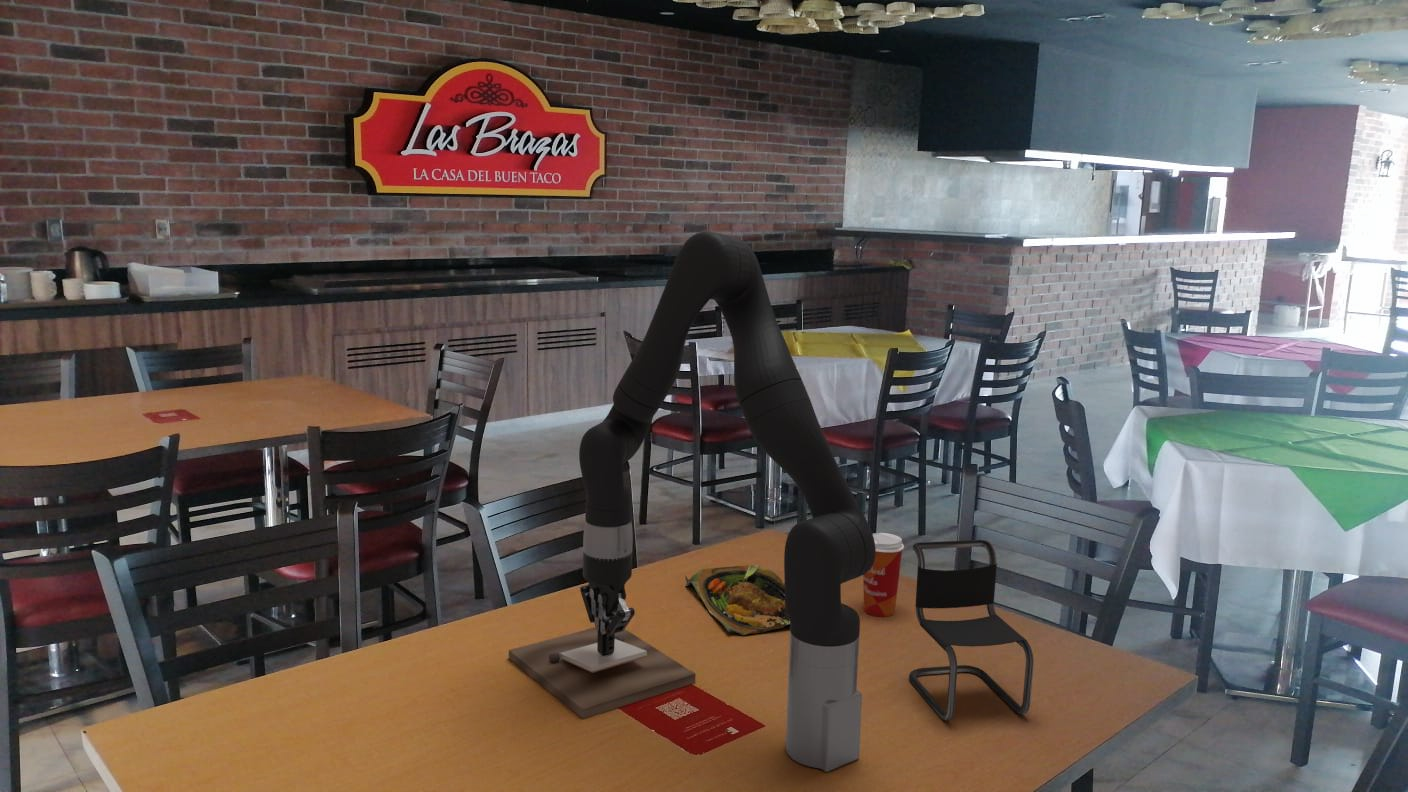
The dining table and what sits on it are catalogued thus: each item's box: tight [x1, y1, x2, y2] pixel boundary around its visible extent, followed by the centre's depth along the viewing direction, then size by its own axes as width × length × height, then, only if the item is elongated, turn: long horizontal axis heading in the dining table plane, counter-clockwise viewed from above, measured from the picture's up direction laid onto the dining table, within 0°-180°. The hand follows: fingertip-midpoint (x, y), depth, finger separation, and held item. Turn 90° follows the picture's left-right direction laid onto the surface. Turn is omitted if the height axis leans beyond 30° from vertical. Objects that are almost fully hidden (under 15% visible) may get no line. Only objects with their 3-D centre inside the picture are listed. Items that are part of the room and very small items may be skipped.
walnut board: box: [508, 626, 697, 720], centre depth 160 cm, size 24×20×3 cm
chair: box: [908, 539, 1035, 722], centre depth 152 cm, size 13×17×22 cm
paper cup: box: [862, 532, 905, 618], centre depth 186 cm, size 8×8×14 cm
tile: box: [560, 639, 647, 673], centre depth 159 cm, size 10×10×1 cm
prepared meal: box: [684, 564, 790, 636], centre depth 189 cm, size 28×4×18 cm
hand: (605, 653), depth 158 cm, fingers closed
